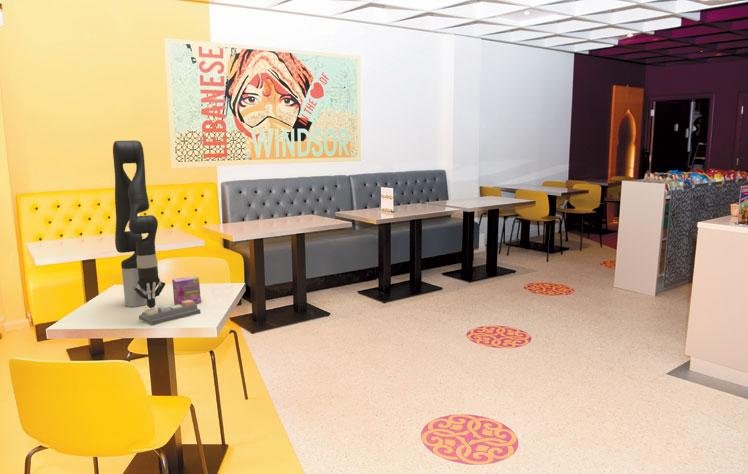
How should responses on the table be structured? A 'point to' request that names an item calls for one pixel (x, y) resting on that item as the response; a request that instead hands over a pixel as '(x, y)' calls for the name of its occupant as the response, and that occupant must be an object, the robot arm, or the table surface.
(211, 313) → the table surface
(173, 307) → the key sage
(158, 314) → the keypad
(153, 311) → the key cream
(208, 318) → the table surface
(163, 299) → the table surface
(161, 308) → the key blue
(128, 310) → the table surface
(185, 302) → the key terracotta
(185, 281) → the box
